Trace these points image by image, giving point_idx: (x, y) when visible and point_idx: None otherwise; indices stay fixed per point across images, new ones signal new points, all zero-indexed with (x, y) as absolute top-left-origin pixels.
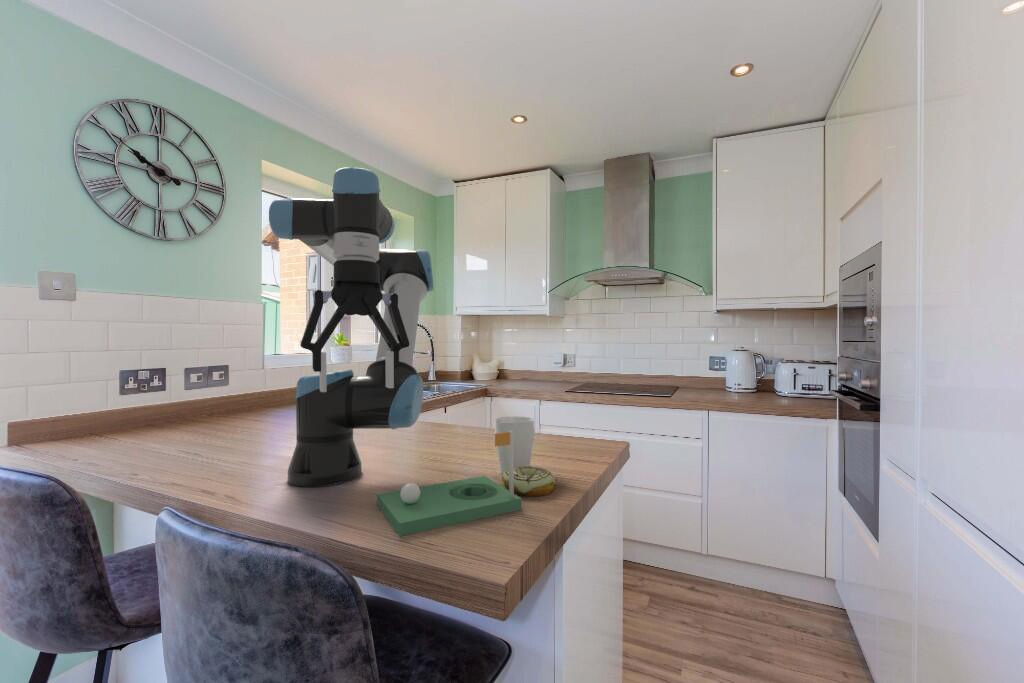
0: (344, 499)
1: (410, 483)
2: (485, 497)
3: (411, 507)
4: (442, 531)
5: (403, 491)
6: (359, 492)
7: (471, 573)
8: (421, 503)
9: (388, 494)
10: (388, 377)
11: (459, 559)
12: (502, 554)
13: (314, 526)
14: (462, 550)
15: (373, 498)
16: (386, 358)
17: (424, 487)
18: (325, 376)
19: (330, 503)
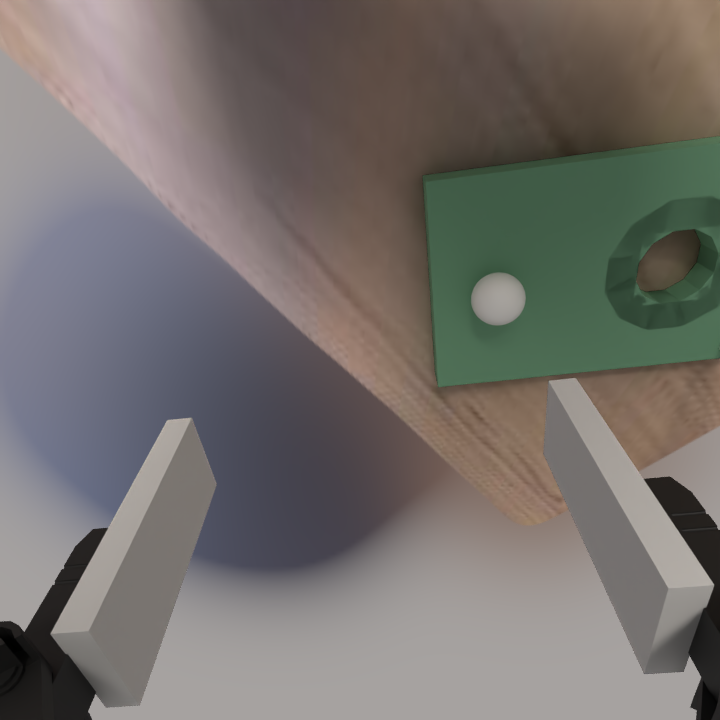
0: (334, 79)
1: (505, 307)
2: (674, 320)
3: None
4: (517, 380)
5: (478, 315)
6: (385, 18)
7: (499, 506)
8: None
9: (455, 199)
10: (565, 482)
11: (501, 472)
12: None
13: (268, 262)
14: (517, 452)
15: (421, 109)
16: (629, 549)
17: (572, 177)
18: (188, 549)
19: (293, 102)
